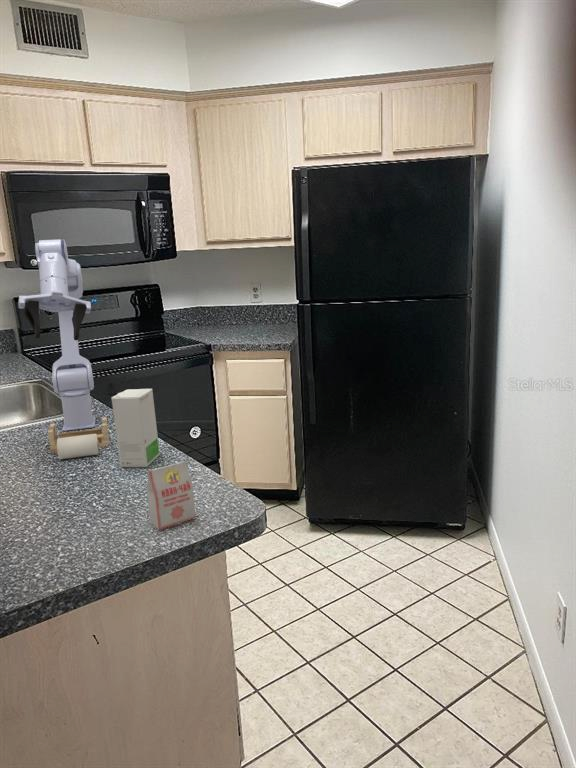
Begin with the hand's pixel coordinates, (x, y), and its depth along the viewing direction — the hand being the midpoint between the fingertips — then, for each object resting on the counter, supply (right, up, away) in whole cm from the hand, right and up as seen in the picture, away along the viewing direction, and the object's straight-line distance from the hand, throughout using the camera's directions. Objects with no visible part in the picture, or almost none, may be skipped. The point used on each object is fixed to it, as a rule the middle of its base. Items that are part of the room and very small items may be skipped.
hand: (57, 336), depth 127 cm
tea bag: (+29, -34, -24) cm, 50 cm away
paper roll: (+1, -24, +10) cm, 26 cm away
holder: (-1, -24, +18) cm, 31 cm away
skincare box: (+16, -27, +5) cm, 32 cm away
